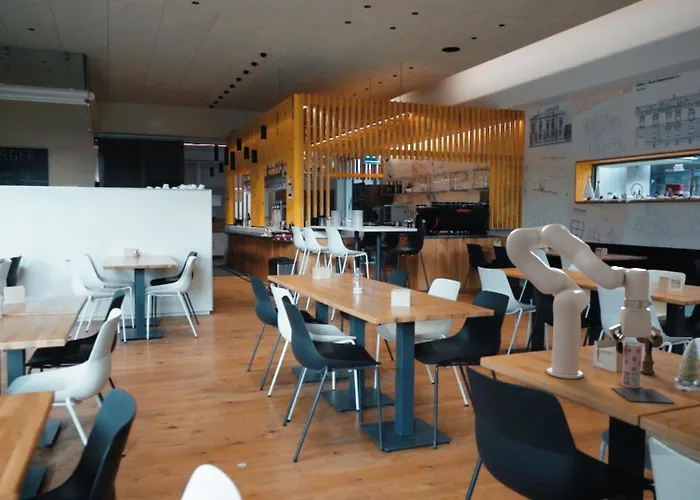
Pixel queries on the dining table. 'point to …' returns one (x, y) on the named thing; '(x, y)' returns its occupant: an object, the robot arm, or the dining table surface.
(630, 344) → the beverage can
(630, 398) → the mat
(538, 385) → the dining table surface
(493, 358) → the dining table surface
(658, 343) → the kendama
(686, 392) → the dining table surface
